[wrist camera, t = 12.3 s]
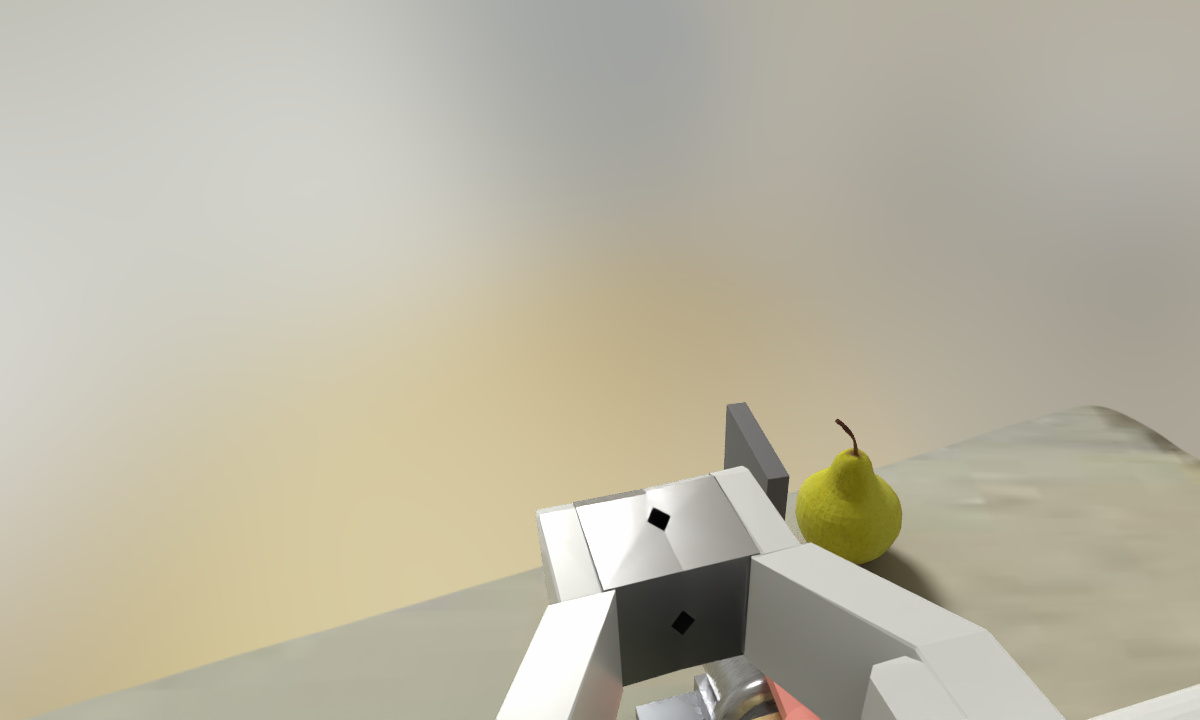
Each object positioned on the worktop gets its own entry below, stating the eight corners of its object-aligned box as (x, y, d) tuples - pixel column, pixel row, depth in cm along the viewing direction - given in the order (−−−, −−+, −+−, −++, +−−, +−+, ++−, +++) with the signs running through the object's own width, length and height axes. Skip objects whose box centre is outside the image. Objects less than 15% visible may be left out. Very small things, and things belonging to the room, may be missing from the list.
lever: (880, 793, 29) (923, 635, 24) (797, 810, 29) (823, 652, 24) (758, 539, 42) (769, 399, 37) (699, 548, 42) (702, 408, 36)
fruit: (875, 516, 54) (900, 385, 48) (907, 586, 48) (940, 447, 42) (784, 518, 54) (797, 388, 48) (805, 589, 48) (823, 451, 42)
